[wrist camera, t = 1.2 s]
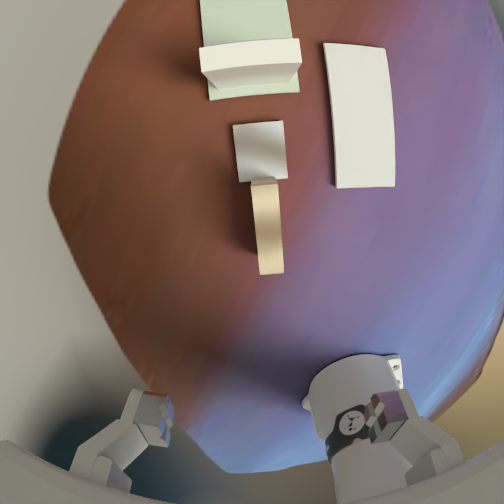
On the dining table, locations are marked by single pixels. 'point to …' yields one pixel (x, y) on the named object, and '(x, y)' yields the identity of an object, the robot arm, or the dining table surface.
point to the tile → (251, 62)
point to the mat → (246, 35)
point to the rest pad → (361, 115)
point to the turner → (263, 185)
